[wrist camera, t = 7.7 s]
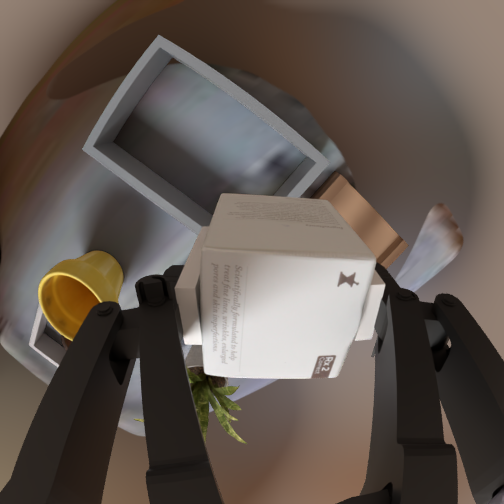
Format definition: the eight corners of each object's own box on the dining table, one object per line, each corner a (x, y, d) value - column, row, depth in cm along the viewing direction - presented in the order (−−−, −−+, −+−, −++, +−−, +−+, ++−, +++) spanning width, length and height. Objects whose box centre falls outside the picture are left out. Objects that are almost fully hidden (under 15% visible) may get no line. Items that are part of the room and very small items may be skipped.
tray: (256, 257, 36) (257, 266, 34) (334, 170, 32) (340, 174, 30) (328, 310, 40) (332, 320, 38) (400, 238, 35) (408, 245, 33)
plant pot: (150, 270, 37) (125, 314, 28) (116, 314, 40) (91, 358, 31) (91, 221, 34) (50, 253, 25) (64, 272, 37) (29, 308, 28)
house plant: (138, 326, 41) (100, 411, 26) (218, 297, 39) (203, 394, 24) (187, 385, 47) (171, 466, 32) (261, 365, 44) (264, 455, 29)
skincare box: (219, 191, 16) (195, 244, 9) (330, 199, 16) (382, 255, 9) (217, 288, 18) (201, 377, 12) (314, 292, 18) (341, 380, 12)
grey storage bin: (102, 144, 30) (82, 149, 26) (171, 46, 26) (158, 34, 21) (240, 245, 36) (239, 264, 31) (318, 156, 31) (330, 162, 27)
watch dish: (38, 332, 43) (29, 345, 39) (52, 288, 39) (39, 301, 35) (93, 371, 46) (86, 386, 42) (116, 335, 42) (107, 351, 38)
